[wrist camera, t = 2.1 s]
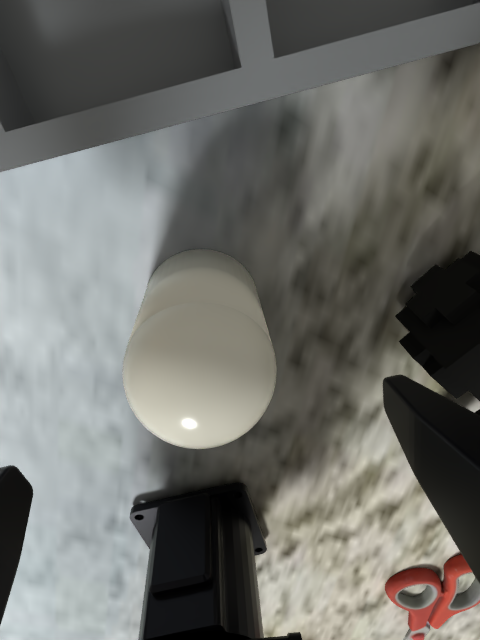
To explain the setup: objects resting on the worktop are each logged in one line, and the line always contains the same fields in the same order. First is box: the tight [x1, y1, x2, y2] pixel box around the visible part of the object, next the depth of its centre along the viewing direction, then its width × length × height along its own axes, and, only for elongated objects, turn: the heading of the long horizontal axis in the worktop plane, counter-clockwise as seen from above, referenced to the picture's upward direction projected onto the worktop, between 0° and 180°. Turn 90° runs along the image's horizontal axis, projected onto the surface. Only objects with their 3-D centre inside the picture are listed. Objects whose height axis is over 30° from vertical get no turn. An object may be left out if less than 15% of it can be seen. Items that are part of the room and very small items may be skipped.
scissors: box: [385, 554, 480, 640], centre depth 31 cm, size 8×21×2 cm, turn 10°
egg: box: [123, 249, 277, 449], centre depth 12 cm, size 4×4×7 cm
